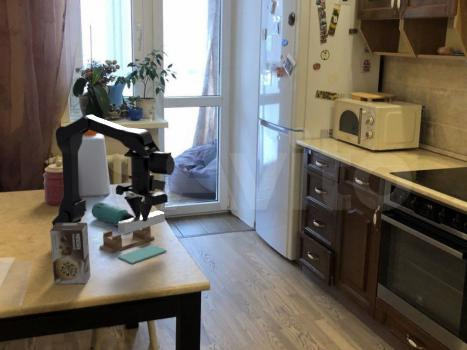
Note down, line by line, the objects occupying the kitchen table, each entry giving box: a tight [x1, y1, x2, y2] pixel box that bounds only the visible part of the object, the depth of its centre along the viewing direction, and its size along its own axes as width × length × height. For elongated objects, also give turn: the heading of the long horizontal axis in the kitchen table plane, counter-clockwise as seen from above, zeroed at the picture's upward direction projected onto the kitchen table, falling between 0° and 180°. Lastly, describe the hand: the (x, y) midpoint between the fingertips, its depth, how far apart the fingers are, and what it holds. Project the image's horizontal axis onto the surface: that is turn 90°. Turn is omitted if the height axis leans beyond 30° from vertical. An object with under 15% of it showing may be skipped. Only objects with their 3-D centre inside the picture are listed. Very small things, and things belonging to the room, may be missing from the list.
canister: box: [42, 159, 63, 207], centre depth 230 cm, size 13×13×18 cm
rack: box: [99, 226, 155, 254], centre depth 187 cm, size 18×6×5 cm, turn 138°
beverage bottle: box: [91, 201, 135, 226], centre depth 207 cm, size 6×7×20 cm
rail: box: [117, 210, 166, 235], centre depth 176 cm, size 16×3×3 cm, turn 138°
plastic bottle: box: [78, 130, 111, 198], centre depth 243 cm, size 15×15×28 cm
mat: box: [117, 244, 168, 265], centre depth 179 cm, size 14×7×1 cm, turn 138°
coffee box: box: [49, 222, 91, 285], centre depth 158 cm, size 9×6×16 cm
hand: (141, 219), depth 176 cm, fingers closed on rail, 3 cm apart
